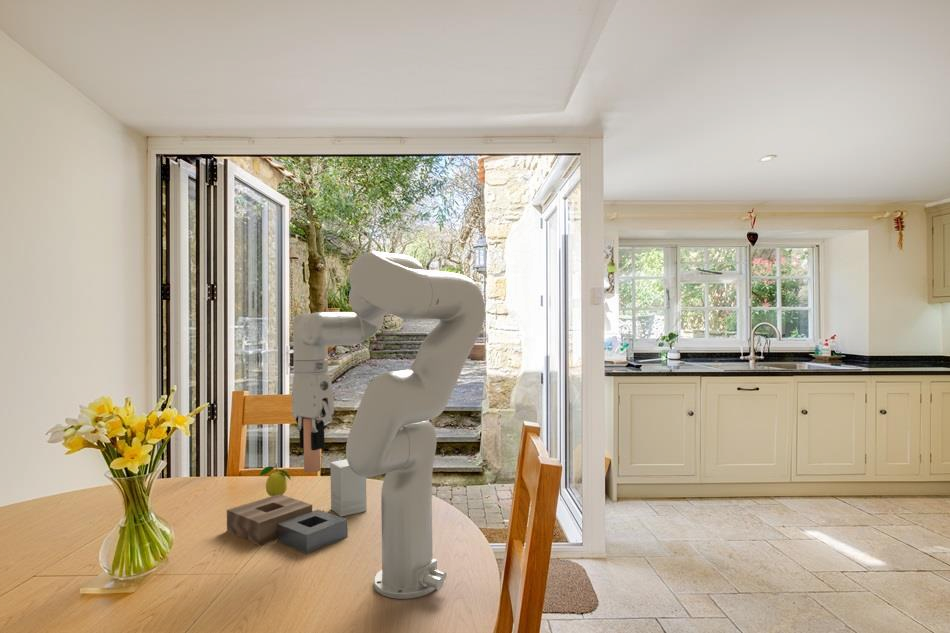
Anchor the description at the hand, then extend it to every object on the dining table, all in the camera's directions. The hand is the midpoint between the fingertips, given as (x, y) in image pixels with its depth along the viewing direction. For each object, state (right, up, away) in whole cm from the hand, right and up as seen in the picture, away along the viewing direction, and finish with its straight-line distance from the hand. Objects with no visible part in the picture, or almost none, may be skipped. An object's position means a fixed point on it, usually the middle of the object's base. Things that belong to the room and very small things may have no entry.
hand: (312, 447), depth 121 cm
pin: (0, -5, 0) cm, 5 cm away
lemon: (-19, -22, +28) cm, 40 cm away
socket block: (-12, -21, +7) cm, 25 cm away
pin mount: (0, -21, 0) cm, 21 cm away
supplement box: (+4, -21, +18) cm, 28 cm away
